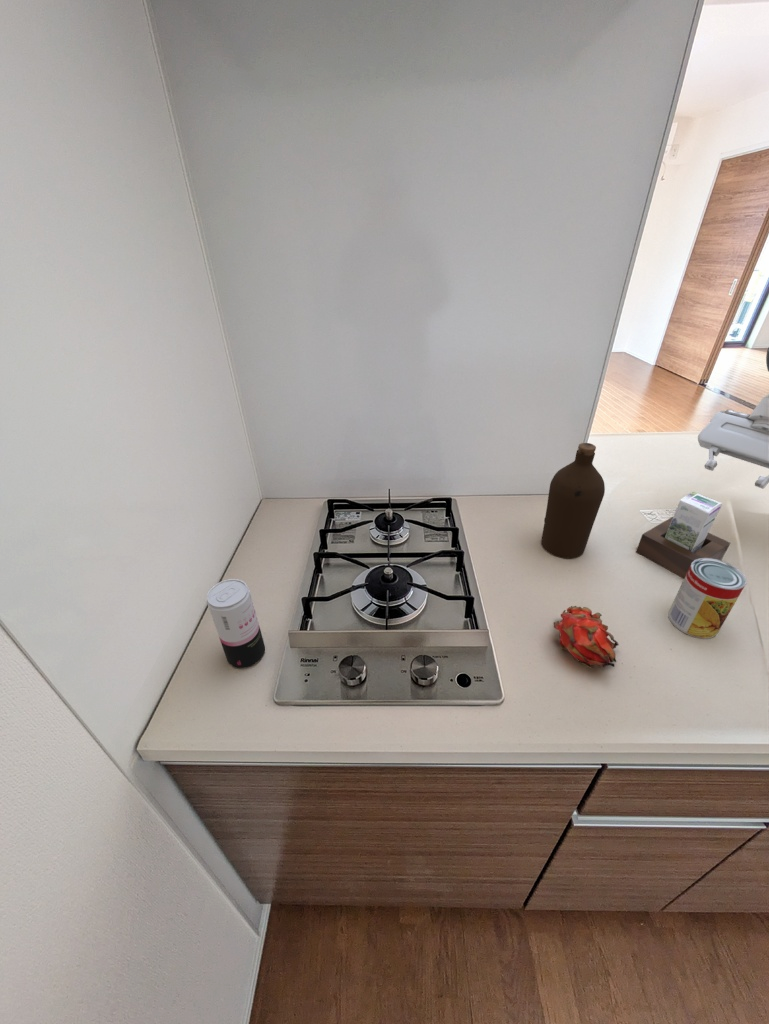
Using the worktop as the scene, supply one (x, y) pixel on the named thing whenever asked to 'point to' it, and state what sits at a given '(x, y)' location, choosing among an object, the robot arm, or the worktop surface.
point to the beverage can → (236, 622)
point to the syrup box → (692, 521)
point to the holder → (677, 549)
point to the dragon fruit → (586, 637)
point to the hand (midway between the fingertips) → (732, 477)
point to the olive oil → (573, 505)
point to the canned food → (706, 597)
